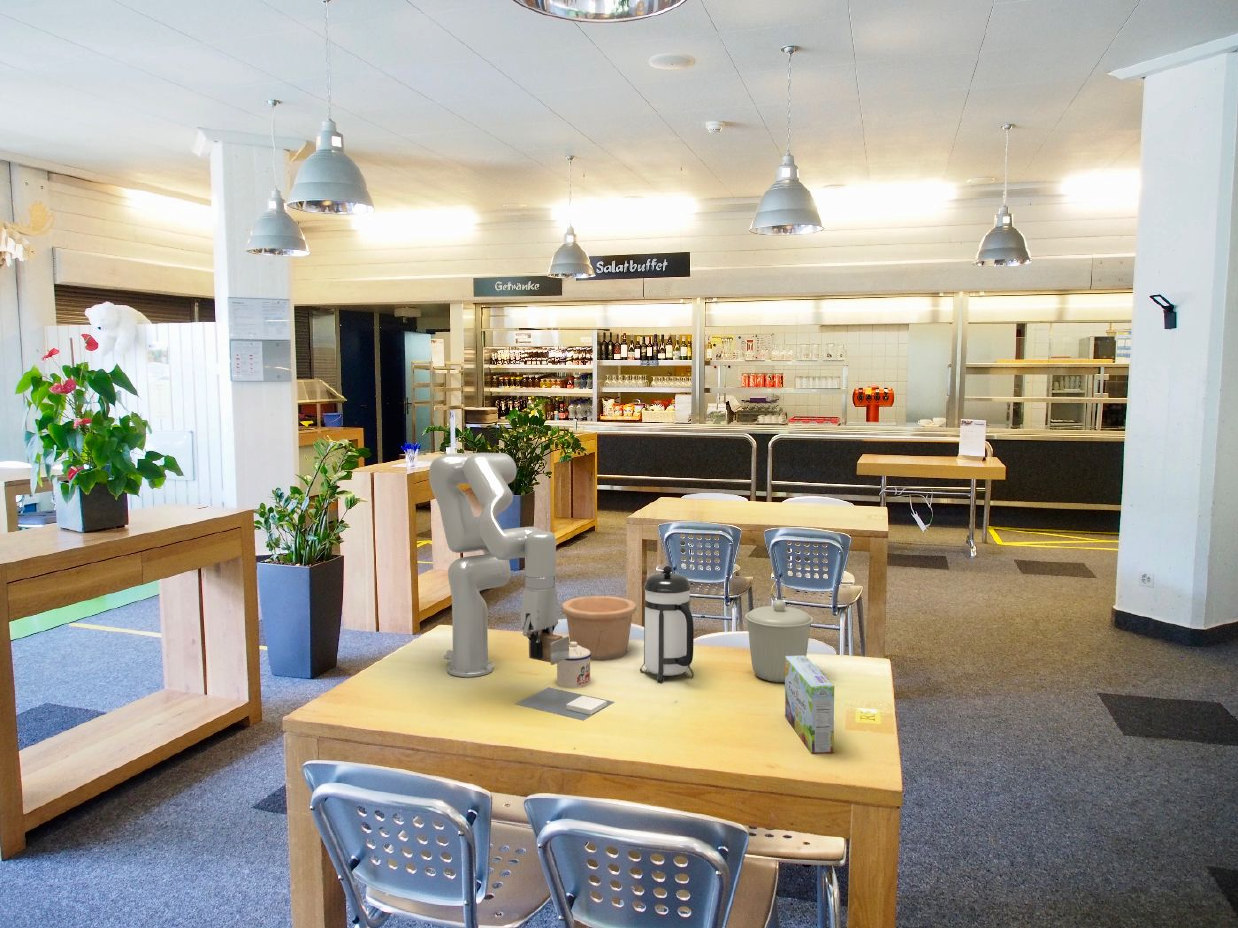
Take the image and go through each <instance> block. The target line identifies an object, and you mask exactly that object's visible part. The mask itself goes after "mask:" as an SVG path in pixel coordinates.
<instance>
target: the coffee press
mask: <svg viewBox="0 0 1238 928" xmlns="http://www.w3.org/2000/svg"><path fill="white" fill-rule="evenodd" d="M662 571H663V572H662V573H655V574H652V575H650V576H648V578H647V579H646V581H645V582H644V584H643V590H644V598H643V600H644V601H643V602H644V603H643V606H644V607H643V608H644V613H643V615H644V617H643V618H644V619H643V622H644V624H643V625H644V626H643V627H644V628H643V632H644V633H643V634H644V635H643V641H644V642H643V663H642V665H641V667H640V669H639V672H640V673H641V674H645V672H647V671H648V672H650V673H651V674H654V675H657V677H656V681H657V683H661V684H663V683H664V680H665V676H676V675H677V676H678V675H681V674H684V675H686V677H687V678H689V679H692V678H693V677H694V675H695V673H694V671H693V670H692V668H691V664H692V662H693V659H694V639H695V638H694V636H695V633H694V632H695V631H694V630H695V629H694V619H693V614H692V611H691V597H690V595H691V589H692V585H691V583H690V582H689V581H690V580H688V578H687V577H686V576H683V575H681V574H677V573H672V571H673V569H672V568H671V566H670V565H665V566H664V567H663V570H662ZM643 666H644V667H645V669H646V670H643V669H642V668H643ZM687 670H689V672H690V673H691V675H690V674H689V673H688V672H687Z"/></svg>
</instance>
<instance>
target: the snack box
mask: <svg viewBox="0 0 1238 928" xmlns="http://www.w3.org/2000/svg"><path fill="white" fill-rule="evenodd" d="M784 690H785V691H784V696H785V697H784V699H785V700H784V709H785V710H784V711H785V712H784V714H785V715H784V716H785V718H786V720H787V721H788V722H789V724H790V725H791V728H793V730H794V731H795V733H796V734H797V736H798V737H799V738H800V740H801V741H802V743H803V744H804V746H805V747H806V749H807V750H808V751H809V753H810V754H811V755H814V754H831V753H835V752H834V751H835V750H834V742H835V741H834V737H835V736H834V735H835V734H834V733H835V732H834V731H835V730H834V729H835V727H834V726H835V719H834V718H835V685H834V684H833V683H832V682H831V681H830V680H829V679H828V678H827V677H826V676H825V675H824V674H823V672H822V671H820V670H819V668H818V667H817V666H816V665H815V664H814V663H813V662H812V661H811V660H810V659H809V658H808V657H807V655H806V656H785V682H784Z"/></svg>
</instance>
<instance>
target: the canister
mask: <svg viewBox="0 0 1238 928" xmlns="http://www.w3.org/2000/svg"><path fill="white" fill-rule="evenodd" d="M744 618H745V620H746V621H747V629H748V631H747V632H748V640H749V652H750V658H751V666H752V670H753V672H754V674H755V675H756V677H758V678H760V679H761V680H764V681H768V682H775V683H785V656H806V657H807V654H808V649H809V647H808V646H809V640H810V639H809V638H810V633H811V624H813V622H814V617H813V616H812V615H811V614H809V613H807V612H806V611H805V610H803V609H799V608H795V607H791V606H787V604H786V601H784V600H783V599H775V600H773V602H772V605H768V606H767V605H765V606H759V607H756V608H754V609H752V610H750V611H748V612H747V613H746V614H745V615H744Z"/></svg>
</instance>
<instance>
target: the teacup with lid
mask: <svg viewBox="0 0 1238 928" xmlns="http://www.w3.org/2000/svg"><path fill="white" fill-rule="evenodd" d="M590 656H591V653H590V651H589V650H588V649H586V648H583V647H581V646H579V645H577V642H570V641H569V658H567V659H565V660H563V661H561V662H558V663H556V683H557V685H558V686H560V687H563V688H568V689H577V688H578V689H579V688H584V687H586V686H589V685H590V684H591V660H590Z"/></svg>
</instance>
